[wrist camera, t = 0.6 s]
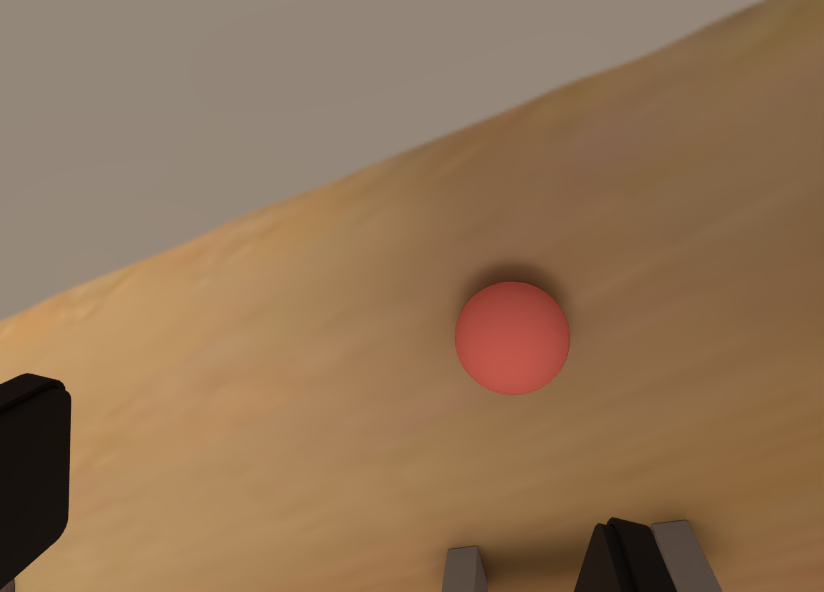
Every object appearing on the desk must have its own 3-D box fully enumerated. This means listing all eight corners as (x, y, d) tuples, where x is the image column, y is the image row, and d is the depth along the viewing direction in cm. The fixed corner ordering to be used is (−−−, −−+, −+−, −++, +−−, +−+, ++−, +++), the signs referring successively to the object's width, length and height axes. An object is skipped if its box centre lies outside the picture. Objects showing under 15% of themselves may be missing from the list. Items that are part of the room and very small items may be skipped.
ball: (551, 260, 31) (562, 284, 25) (573, 359, 32) (588, 402, 27) (448, 284, 32) (436, 311, 27) (472, 378, 34) (466, 423, 28)
